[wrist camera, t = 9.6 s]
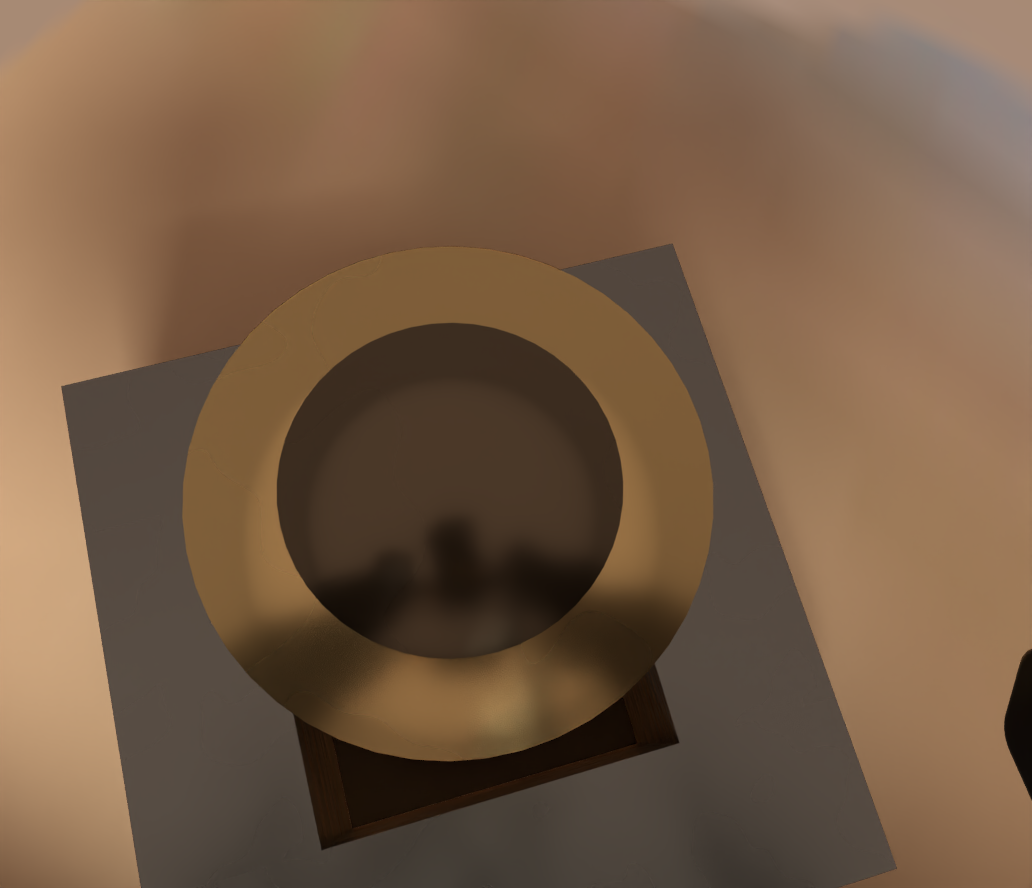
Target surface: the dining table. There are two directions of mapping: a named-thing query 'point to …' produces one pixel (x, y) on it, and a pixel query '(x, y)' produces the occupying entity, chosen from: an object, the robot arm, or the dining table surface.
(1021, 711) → the robot arm
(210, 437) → the bushing
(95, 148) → the dining table surface
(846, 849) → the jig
